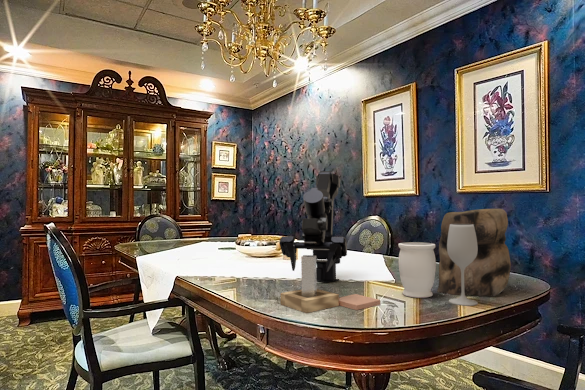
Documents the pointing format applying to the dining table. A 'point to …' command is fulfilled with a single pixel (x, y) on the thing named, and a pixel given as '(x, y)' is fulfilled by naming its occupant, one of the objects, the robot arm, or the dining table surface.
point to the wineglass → (462, 254)
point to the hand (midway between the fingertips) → (309, 270)
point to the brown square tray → (309, 300)
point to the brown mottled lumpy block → (490, 257)
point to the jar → (417, 268)
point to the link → (309, 276)
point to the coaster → (358, 301)
